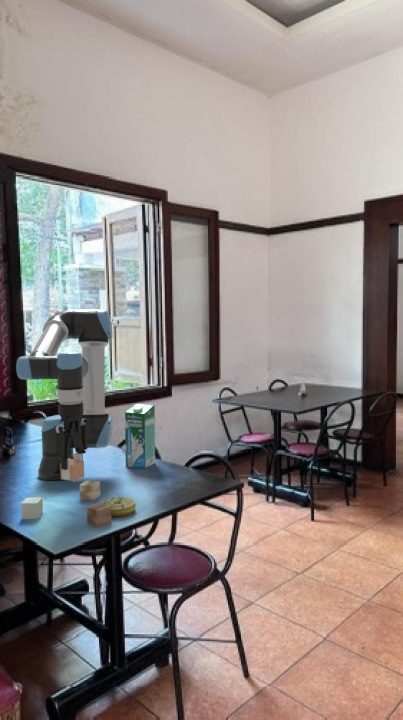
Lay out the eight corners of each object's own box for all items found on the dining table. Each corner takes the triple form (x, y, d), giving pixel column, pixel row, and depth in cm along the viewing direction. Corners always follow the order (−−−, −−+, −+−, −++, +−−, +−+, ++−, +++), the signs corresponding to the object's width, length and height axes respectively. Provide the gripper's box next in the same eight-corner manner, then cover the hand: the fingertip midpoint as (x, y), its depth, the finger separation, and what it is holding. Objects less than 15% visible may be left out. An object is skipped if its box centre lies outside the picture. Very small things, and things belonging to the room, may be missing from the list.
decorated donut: (111, 504, 168) (111, 493, 167) (141, 508, 164) (140, 496, 164) (94, 515, 158) (94, 503, 158) (126, 520, 154) (125, 507, 154)
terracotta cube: (60, 479, 158) (60, 463, 158) (71, 474, 163) (71, 459, 162) (73, 481, 156) (73, 465, 155) (84, 476, 160) (83, 460, 160)
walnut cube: (87, 523, 152) (86, 507, 151) (100, 518, 156) (100, 502, 155) (97, 527, 148) (97, 511, 148) (111, 522, 152) (111, 506, 152)
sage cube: (21, 519, 155) (20, 503, 155) (26, 513, 160) (26, 497, 160) (38, 519, 155) (37, 503, 155) (42, 513, 160) (42, 497, 160)
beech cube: (79, 499, 172) (79, 484, 172) (86, 494, 177) (86, 480, 177) (93, 500, 171) (93, 486, 171) (100, 495, 176) (99, 481, 175)
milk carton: (125, 466, 211) (124, 406, 209) (136, 461, 219) (135, 403, 217) (145, 469, 207) (144, 407, 206) (155, 463, 216) (154, 404, 214)
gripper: (61, 408, 147) (63, 487, 149) (98, 398, 164) (99, 469, 166) (40, 406, 150) (43, 483, 153) (79, 397, 167) (81, 467, 169)
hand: (72, 476), depth 159 cm, fingers closed on terracotta cube, 5 cm apart
